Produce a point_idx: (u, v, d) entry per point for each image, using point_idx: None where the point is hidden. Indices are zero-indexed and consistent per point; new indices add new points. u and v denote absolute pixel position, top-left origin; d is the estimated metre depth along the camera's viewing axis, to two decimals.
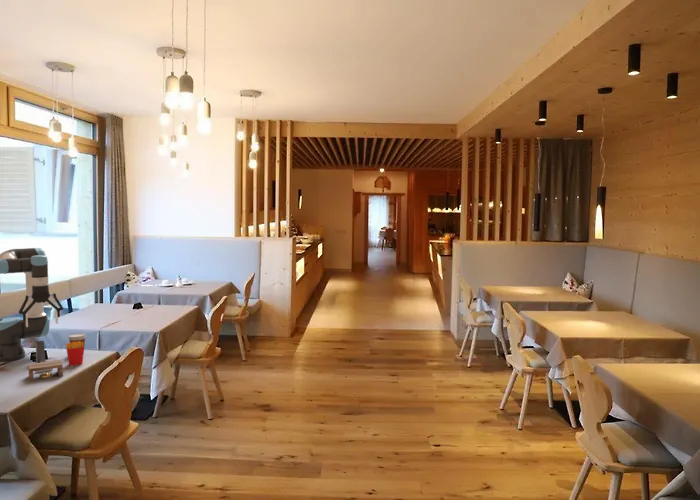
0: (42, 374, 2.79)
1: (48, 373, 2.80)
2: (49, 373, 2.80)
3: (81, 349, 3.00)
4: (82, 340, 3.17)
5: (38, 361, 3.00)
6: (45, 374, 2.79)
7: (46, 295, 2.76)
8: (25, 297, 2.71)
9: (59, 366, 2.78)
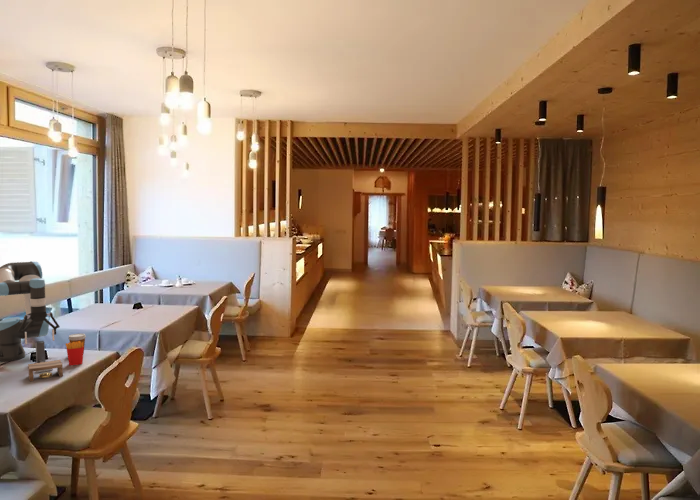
0: (42, 374, 2.79)
1: (48, 373, 2.80)
2: (49, 373, 2.80)
3: (81, 349, 3.00)
4: (82, 340, 3.17)
5: (38, 361, 3.00)
6: (45, 374, 2.79)
7: (43, 315, 3.01)
8: (24, 317, 2.97)
9: (59, 366, 2.78)
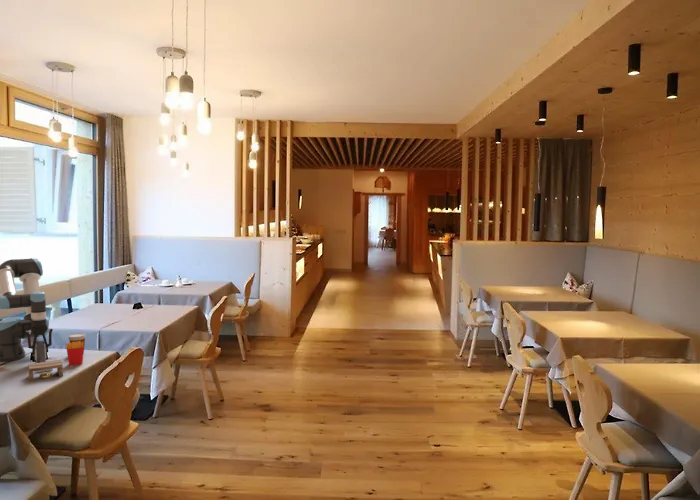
0: (42, 374, 2.79)
1: (48, 373, 2.80)
2: (49, 373, 2.80)
3: (81, 349, 3.00)
4: (82, 340, 3.17)
5: (38, 361, 3.00)
6: (45, 374, 2.79)
7: (44, 328, 3.02)
8: (26, 333, 2.98)
9: (59, 366, 2.78)
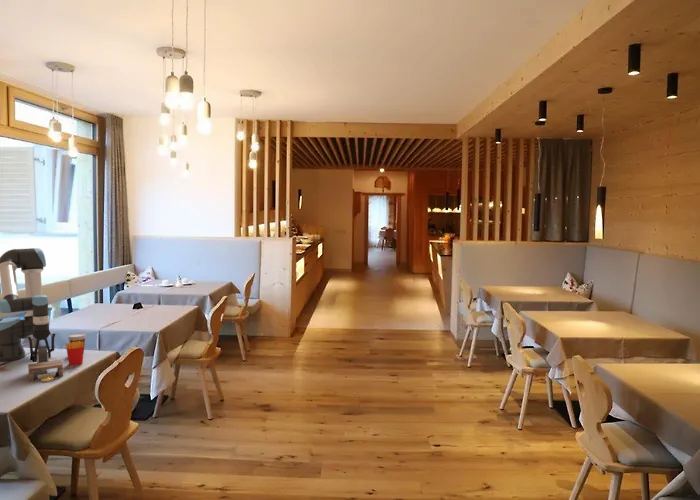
0: (44, 377, 2.73)
1: (50, 376, 2.74)
2: (51, 376, 2.74)
3: (81, 349, 3.00)
4: (82, 340, 3.17)
5: None
6: (47, 377, 2.73)
7: (47, 332, 2.91)
8: (28, 338, 2.87)
9: (59, 366, 2.78)
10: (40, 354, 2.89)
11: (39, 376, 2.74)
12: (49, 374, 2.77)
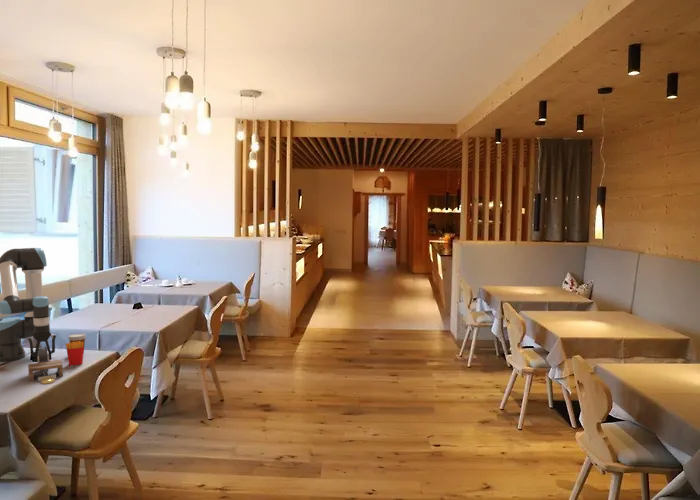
0: (44, 380, 2.70)
1: (50, 379, 2.72)
2: (51, 379, 2.72)
3: (81, 349, 3.00)
4: (82, 340, 3.17)
5: None
6: (47, 380, 2.70)
7: (47, 334, 2.88)
8: None
9: (59, 366, 2.78)
10: (41, 356, 2.86)
11: (40, 378, 2.71)
12: (50, 376, 2.74)
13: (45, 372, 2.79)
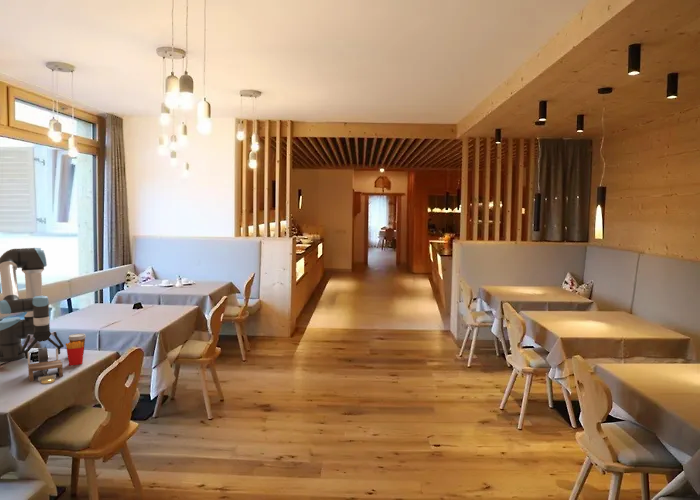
0: (44, 380, 2.70)
1: (50, 379, 2.72)
2: (51, 379, 2.72)
3: (81, 349, 3.00)
4: (82, 340, 3.17)
5: None
6: (47, 380, 2.70)
7: (47, 334, 2.88)
8: (27, 336, 2.83)
9: (59, 366, 2.78)
10: (41, 356, 2.86)
11: (40, 378, 2.71)
12: (50, 376, 2.74)
13: (45, 372, 2.79)
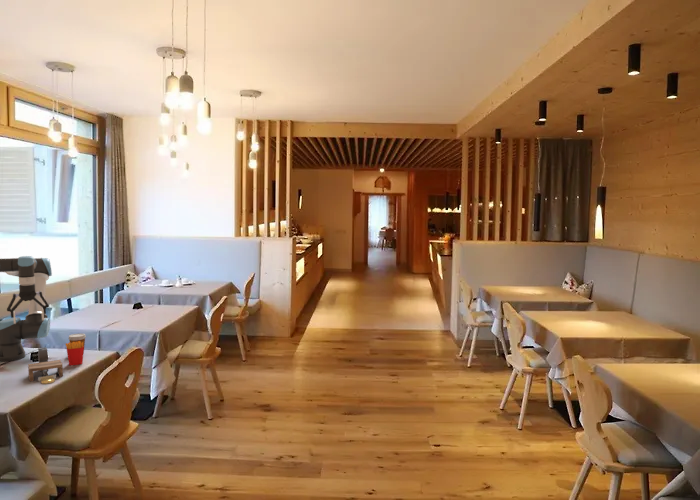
0: (44, 380, 2.70)
1: (50, 379, 2.72)
2: (51, 379, 2.72)
3: (81, 349, 3.00)
4: (82, 340, 3.17)
5: None
6: (47, 380, 2.70)
7: (33, 294, 2.93)
8: (13, 296, 2.88)
9: (59, 366, 2.78)
10: (41, 356, 2.86)
11: (40, 378, 2.71)
12: (50, 376, 2.74)
13: (45, 372, 2.79)
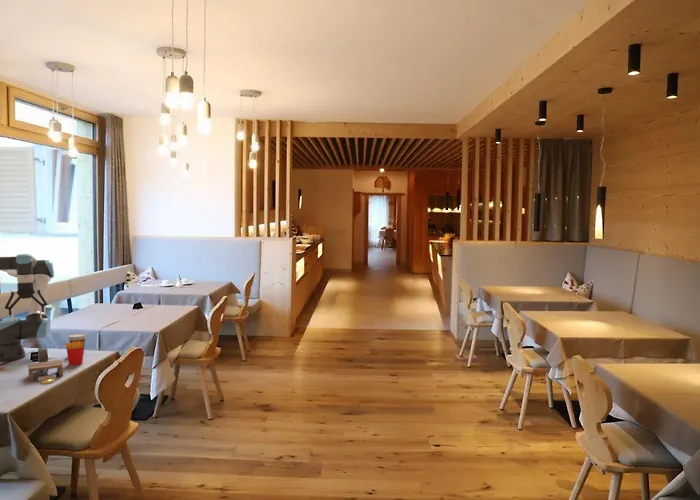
0: (44, 380, 2.70)
1: (50, 379, 2.72)
2: (51, 379, 2.72)
3: (81, 349, 3.00)
4: (82, 340, 3.17)
5: None
6: (47, 380, 2.70)
7: (31, 291, 2.93)
8: (11, 293, 2.89)
9: (59, 366, 2.78)
10: (41, 356, 2.86)
11: (40, 378, 2.71)
12: (50, 376, 2.74)
13: (45, 372, 2.79)
